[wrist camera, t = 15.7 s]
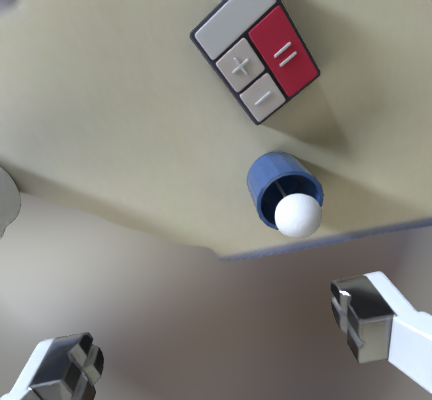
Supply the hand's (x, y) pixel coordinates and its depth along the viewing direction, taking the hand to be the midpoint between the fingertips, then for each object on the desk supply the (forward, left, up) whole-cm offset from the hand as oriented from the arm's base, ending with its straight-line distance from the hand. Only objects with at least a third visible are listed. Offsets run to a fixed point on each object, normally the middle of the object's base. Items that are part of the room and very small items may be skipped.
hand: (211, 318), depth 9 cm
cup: (+12, -11, -37) cm, 40 cm away
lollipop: (+12, -11, -37) cm, 40 cm away
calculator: (+8, +8, -37) cm, 39 cm away
